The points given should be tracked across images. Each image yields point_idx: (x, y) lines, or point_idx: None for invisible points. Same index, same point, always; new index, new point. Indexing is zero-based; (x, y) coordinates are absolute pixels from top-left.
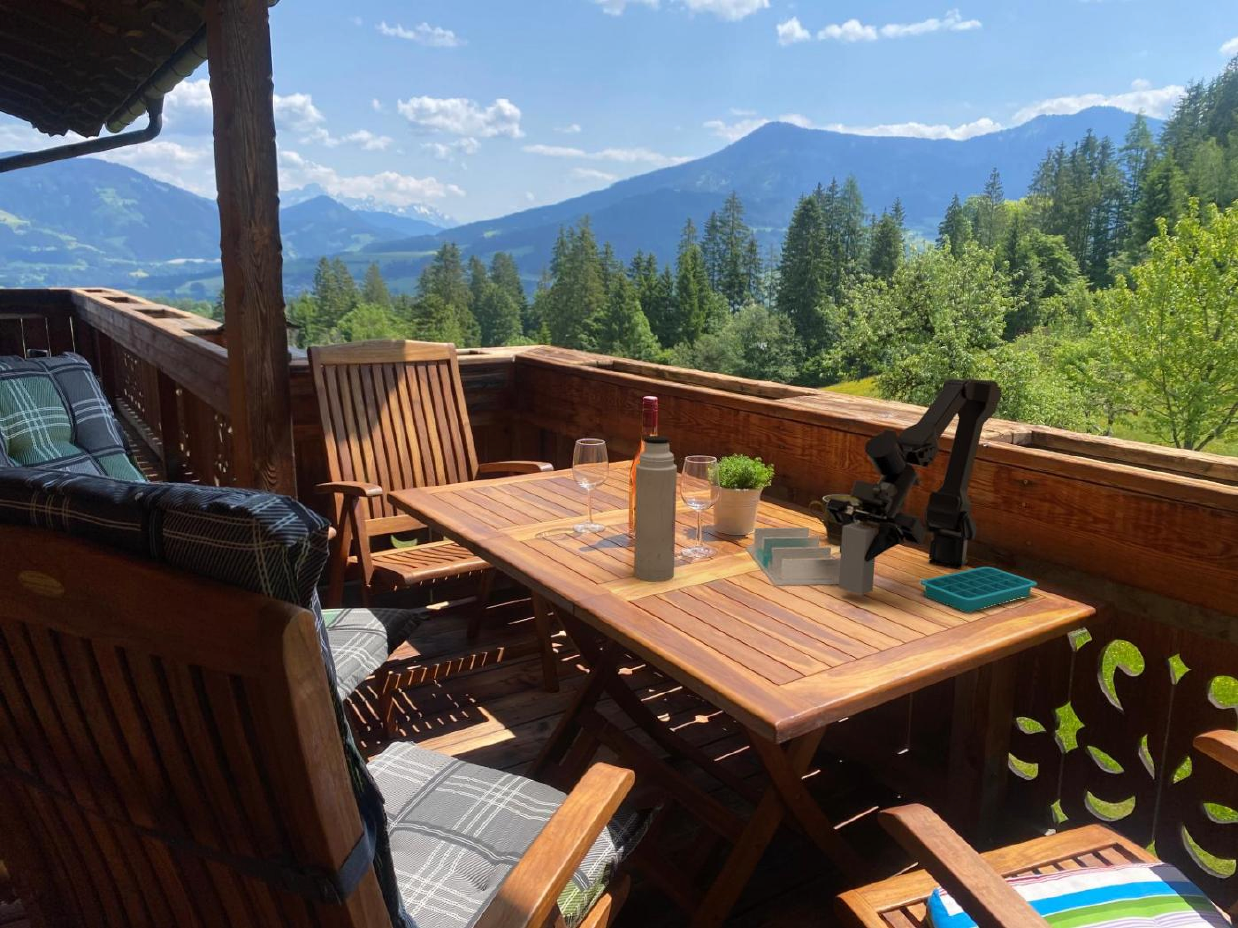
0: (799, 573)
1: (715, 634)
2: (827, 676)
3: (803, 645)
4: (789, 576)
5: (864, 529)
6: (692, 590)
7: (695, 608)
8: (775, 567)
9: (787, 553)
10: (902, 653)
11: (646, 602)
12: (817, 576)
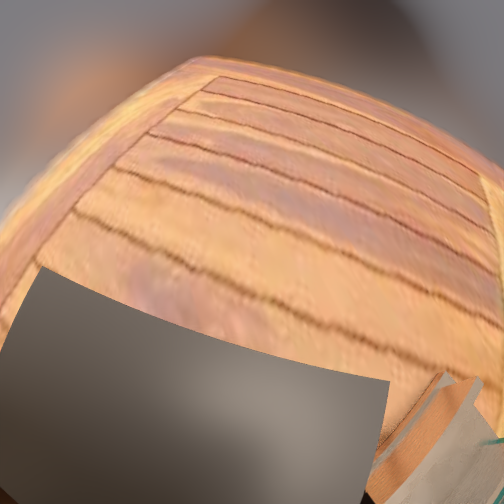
0: (419, 427)
1: (346, 123)
2: (177, 96)
3: (229, 132)
4: (431, 404)
5: (58, 377)
6: (485, 242)
7: (430, 180)
8: (479, 452)
9: (490, 479)
10: (82, 174)
11: (469, 177)
12: (372, 473)
